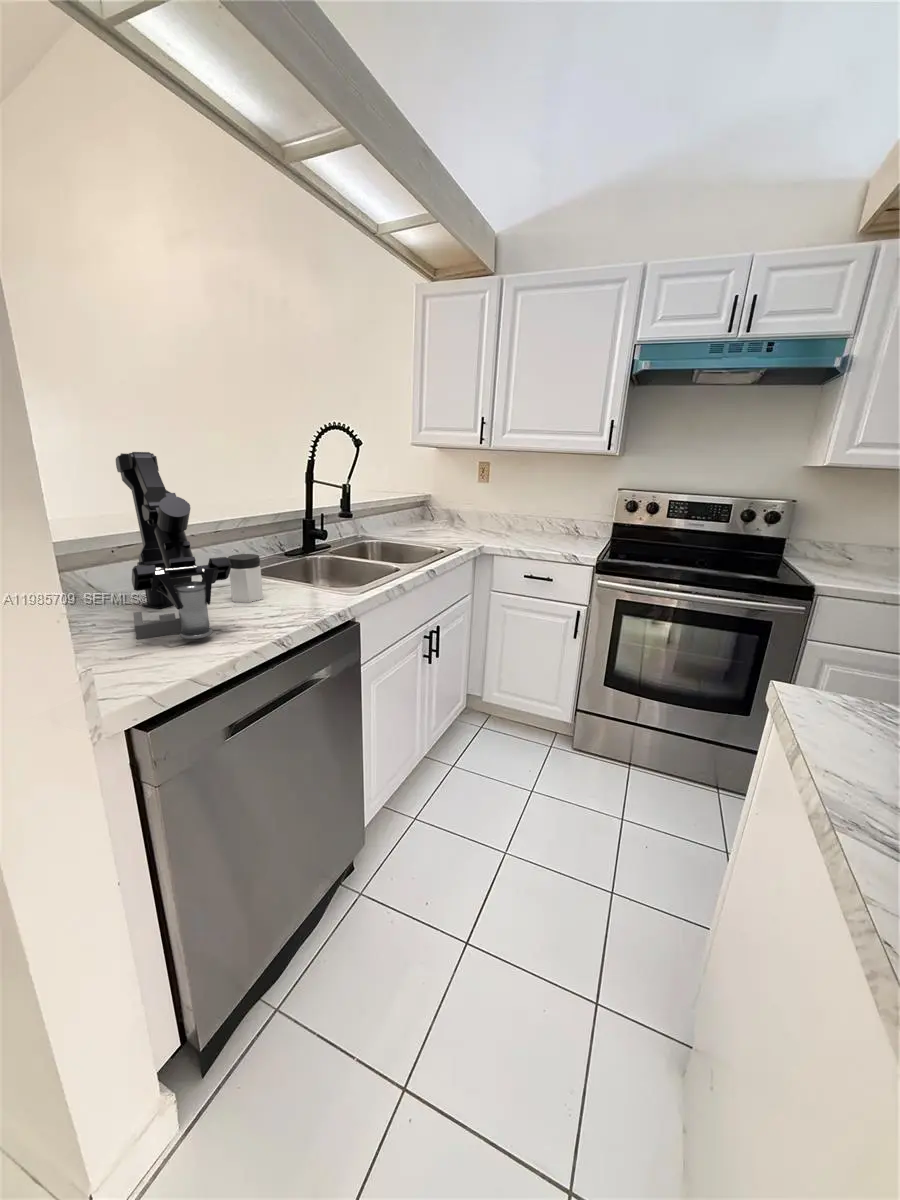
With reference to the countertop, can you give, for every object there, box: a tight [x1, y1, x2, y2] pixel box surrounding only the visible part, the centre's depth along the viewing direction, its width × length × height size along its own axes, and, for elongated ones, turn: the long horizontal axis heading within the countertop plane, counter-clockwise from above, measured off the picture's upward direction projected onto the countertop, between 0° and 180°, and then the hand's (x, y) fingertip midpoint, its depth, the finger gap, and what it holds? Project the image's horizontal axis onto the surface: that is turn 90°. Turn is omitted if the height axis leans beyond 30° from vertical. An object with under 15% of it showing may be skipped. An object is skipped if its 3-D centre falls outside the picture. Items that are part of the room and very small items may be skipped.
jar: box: [227, 553, 264, 603], centre depth 137 cm, size 9×8×12 cm
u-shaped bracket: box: [133, 611, 181, 640], centre depth 114 cm, size 11×13×4 cm
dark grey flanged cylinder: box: [174, 580, 213, 640], centre depth 105 cm, size 6×6×11 cm
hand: (194, 606), depth 104 cm, fingers closed on dark grey flanged cylinder, 5 cm apart
